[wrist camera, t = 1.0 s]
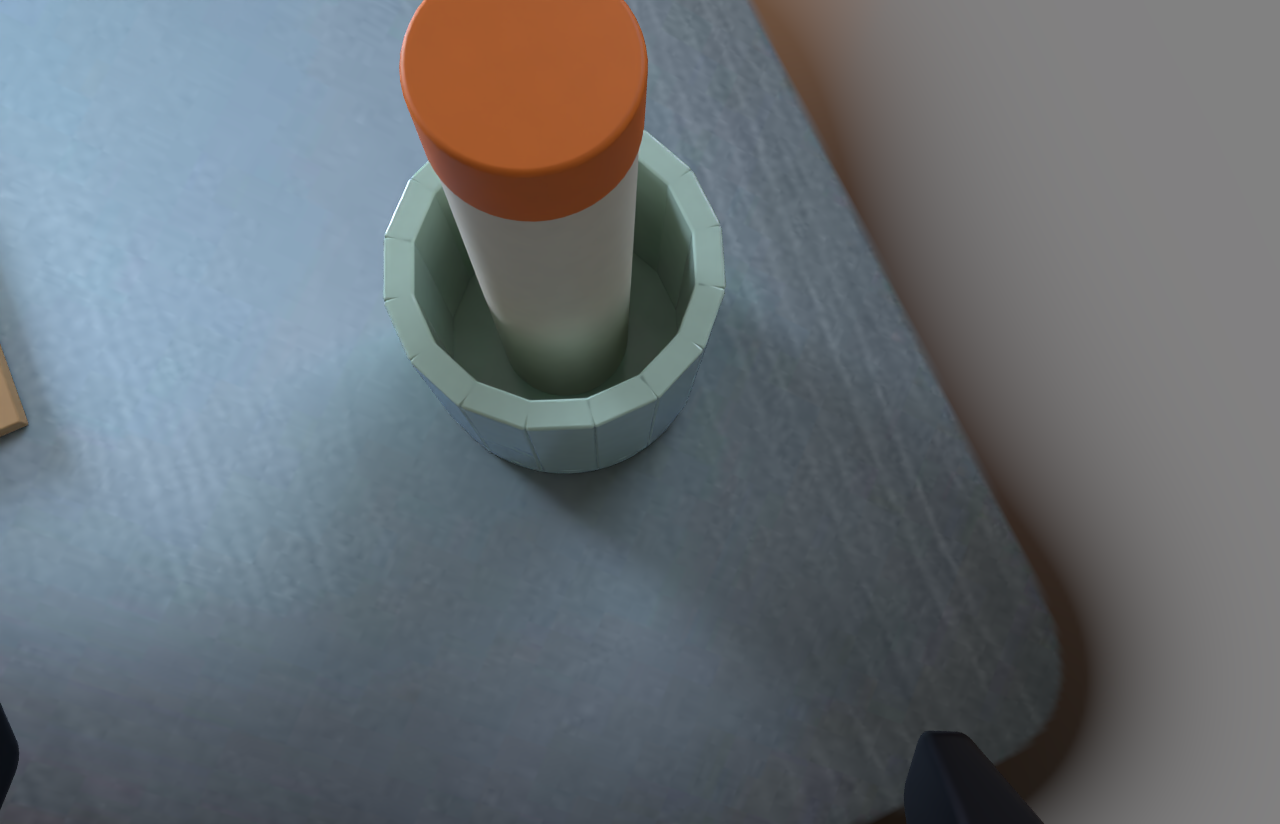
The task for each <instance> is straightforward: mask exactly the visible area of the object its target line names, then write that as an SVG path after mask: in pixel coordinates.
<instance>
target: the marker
mask: <svg viewBox="0 0 1280 824" xmlns="http://www.w3.org/2000/svg"><path fill="white" fill-rule="evenodd" d="M399 69H400V82H401V87H402V91H403V96H404V99H405V102H406V104H407V107H408V109H409V112H410V115H411V117H412V120H413V122H414V125H415V127H416V130H417V133H418V135H419V138H420V140H421V143H422V145H423V148H424V150H425V153H426V156H427V158H428V160H429V162H430V164H431V166H432V168H433V169H434V171H435V173H436V174H437V175H438V177H439V179H440V182H441V184H442V187H443V190H444V192H445V195H446V197H447V200H448V203H449V205H450V208H451V211H452V213H453V216H454V218H455V221H456V224H457V226H458V229H459V232H460V234H461V237H462V239H463V242H464V245H465V247H466V250H467V252H468V255H469V258H470V260H471V263H472V266H473V268H474V271H475V273H476V276H477V279H478V281H479V284H480V286H481V289H482V292H483V294H484V297H485V300H486V302H487V305H488V307H489V310H490V313H491V315H492V318H493V320H494V323H495V326H496V328H497V331H498V334H499V336H500V339H501V341H502V344H503V347H504V349H505V352H506V355H507V357H508V360H509V362H510V364H511V365H512V367H513V369H514V370H515V371H516V373H517V374H518V375H519V376H520V377H521V378H522V379H523V380H524V381H525V382H527V383H528V384H529V385H531V386H532V387H534V388H536V389H538V390H540V391H543V392H546V393H549V394H554V395H566V396H568V395H577V394H581V393H585V392H587V391H590V390H592V389H594V388H596V387H598V386H600V385H601V384H603V383H604V382H605V381H606V380H608V379H609V378H610V377H611V376H612V375H613V373H614V372H615V371H616V370H617V368H618V367H619V365H620V363H621V361H622V359H623V357H624V354H625V351H626V347H627V340H628V324H629V307H630V291H631V274H632V257H633V241H634V224H635V208H636V191H637V175H638V158H639V148H640V144H641V141H642V136H643V130H644V120H645V105H646V90H647V75H648V58H647V51H646V45H645V41H644V37H643V34H642V31H641V29H640V26H639V24H638V22H637V19H636V18H635V16H634V14H633V13H632V11H631V9H630V8H629V6H628V5H627V4H626V2H625V1H624V0H423V2H422V3H421V4H420V6H419V7H418V8H417V10H416V12H415V14H414V16H413V17H412V19H411V21H410V23H409V26H408V28H407V31H406V34H405V36H404V39H403V44H402V48H401V53H400V66H399Z"/></svg>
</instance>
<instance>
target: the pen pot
mask: <svg viewBox="0 0 1280 824" xmlns="http://www.w3.org/2000/svg"><path fill="white" fill-rule="evenodd" d="M725 287H726V280H725V266H724V252H723V238H722V229H721V227H720V222H719V220H718V218H717V216H716V214H715V212H714V211H713V209H712V207H711V205H710V203H709V201H708V199H707V197H706V195H705V193H704V191H703V189H702V187H701V185H700V184H699V182H698V180H697V178H696V176H695V174H694V173H693V172H692V171H691V169H690V167H688V166H687V165H686V164H685V163H684V162H682V161H681V160H680V159H679V158H678V157H677V156H675V155H674V154H673V153H672V152H671V151H669V150H668V149H667V148H666V147H665V146H664V145H662V144H661V143H660V142H659V141H658V140H656V139H655V138H654V137H653V136H652V135H651V134H649V133H648V132H647V131H646V130H643V136H642V141H641V144H640V148H639V158H638V175H637V191H636V208H635V224H634V241H633V257H632V274H631V291H630V307H629V324H628V340H627V347H626V351H625V354H624V357H623V359H622V361H621V363H620V365H619V367H618V368H617V370H616V371H615V372H614V373H613V375H612V376H611V377H610V378H609V379H608V380H606V381H605V382H604V383H603V384H601V385H600V386H598V387H596V388H594V389H592V390H590V391H587V392H585V393H581V394H577V395H568V396H566V395H554V394H549V393H546V392H543V391H540V390H538V389H536V388H534V387H532V386H531V385H529V384H528V383H527V382H525V381H524V380H523V379H522V378H521V377H520V376H519V375H518V374H517V373H516V371H515V370H514V369H513V367H512V365H511V364H510V362H509V360H508V357H507V355H506V352H505V349H504V347H503V344H502V341H501V339H500V336H499V334H498V331H497V328H496V326H495V323H494V320H493V318H492V315H491V313H490V310H489V307H488V305H487V302H486V300H485V297H484V294H483V292H482V289H481V286H480V284H479V281H478V279H477V276H476V273H475V271H474V268H473V266H472V263H471V260H470V258H469V255H468V252H467V250H466V247H465V245H464V242H463V239H462V237H461V234H460V232H459V229H458V226H457V224H456V221H455V218H454V216H453V213H452V211H451V208H450V205H449V203H448V200H447V197H446V195H445V192H444V190H443V187H442V184H441V182H440V179H439V177H438V175H437V174H436V173H435V171H434V169H433V168H432V166H431V164H430V162H429V161H428V162H427V163H426V164H425V165H424V166H423V167H422V168H420V169H419V170H418V171H417V172H416V173H415V174H414V175H413V176H412V178H411V180H409V181H408V183H407V186H406V188H405V190H404V192H403V195H402V197H401V199H400V201H399V204H398V206H397V208H396V210H395V213H394V215H393V217H392V219H391V222H390V224H389V226H388V228H387V231H386V233H385V239H384V249H383V299H384V301H385V307H386V310H387V312H388V314H389V317H390V319H391V321H392V323H393V326H394V328H395V330H396V332H397V335H398V337H399V339H400V342H401V344H402V346H403V348H404V351H405V353H406V355H407V358H408V359H409V361H410V362H411V364H412V365H413V367H414V368H415V369H416V371H417V372H418V373H419V375H420V376H421V377H422V379H423V380H424V381H425V382H426V384H427V385H428V386H429V388H430V389H431V390H432V392H433V393H434V394H435V396H436V397H437V398H438V400H439V401H440V402H441V404H442V405H443V406H444V408H445V409H446V410H447V411H448V413H449V414H450V415H451V417H452V418H453V419H454V420H455V421H456V422H458V423H459V424H460V425H461V426H462V427H463V428H464V429H465V430H466V431H467V432H468V433H469V434H470V435H471V436H472V437H473V438H474V439H475V440H476V441H477V442H479V443H480V444H481V445H482V446H484V447H485V448H486V449H487V450H488V451H490V452H492V453H493V454H496V455H497V456H499V457H501V458H502V459H505V460H507V461H509V462H512V463H514V464H516V465H518V466H522V467H525V468H529V469H532V470H536V471H543V472H549V473H580V472H589V471H593V470H598V469H602V468H606V467H609V466H611V465H614V464H616V463H619V462H622V461H624V460H626V459H628V458H629V457H631V456H633V455H635V454H637V453H639V452H640V451H642V450H643V449H644V448H646V447H647V446H648V445H650V444H651V443H653V442H654V441H655V440H656V439H657V438H658V437H659V436H660V435H661V434H662V433H663V432H664V431H665V430H666V429H667V428H668V427H669V425H670V424H671V423H672V422H673V421H674V419H675V418H676V417H677V415H678V414H679V412H680V411H681V410H682V409H683V408H684V406H685V404H686V403H687V400H688V397H689V394H690V392H691V389H692V386H693V383H694V380H695V378H696V375H697V372H698V369H699V366H700V364H701V361H702V358H703V355H704V352H705V349H706V346H707V343H708V341H709V338H710V335H711V332H712V329H713V326H714V323H715V320H716V317H717V314H718V311H719V309H720V306H721V303H722V300H723V297H724V294H725Z"/></svg>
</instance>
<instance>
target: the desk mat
mask: <svg viewBox="0 0 1280 824" xmlns="http://www.w3.org/2000/svg"><path fill="white" fill-rule="evenodd" d="M27 425H28V421H27V418H26V415H25V412H24V410H23V407H22V404H21V401H20V398H19V396H18V393H17V390H16V387H15V384H14V381H13V379H12V376H11V373H10V370H9V367H8V365H7V362H6V359H5V356H4V353H3V351H2V348H1V345H0V437H1V436H3V435H6V434H8V433H10V432H13V431H15V430H18V429H20V428H22V427H25V426H27Z"/></svg>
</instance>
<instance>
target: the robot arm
mask: <svg viewBox="0 0 1280 824" xmlns="http://www.w3.org/2000/svg"><path fill="white" fill-rule="evenodd" d="M18 761H19V747H18V743H17V740H16V738H15V736H14V733H13V731H12V729H11V726H10V724H9V722H8V719H7V717H6V715H5V712H4V710H3V708H2V705H1V703H0V809H1V807H2V804H3V802H4V799H5V797H6V795H7V792H8V790H9V787H10V785H11V782H12V780H13V777H14V775H15V772H16V769H17V765H18ZM904 806H905V815H906V822H907V824H1044V823H1043V822H1042V821H1041V820H1040V818H1039V817H1038V816H1037V815H1036V814H1035V813H1034V811H1033V810H1032V809H1031V808H1030V807H1029V806H1028V805H1027V803H1026V802H1025V801H1024V800H1023V799H1022V798H1021V796H1020V795H1019V794H1018V793H1017V792H1016V791H1015V790H1014V789H1013V787H1012V786H1011V785H1010V784H1009V783H1008V782H1007V780H1006V779H1005V778H1004V777H1003V776H1002V774H1001V773H1000V772H999V771H998V770H997V769H996V768H995V766H994V765H993V764H992V763H991V762H990V761H989V759H988V758H987V757H986V756H985V755H984V754H983V752H982V751H981V750H980V749H979V748H978V747H977V746H976V744H975V743H974V742H973V741H972V740H971V739H970V738H969V737H968V736H966V735H965V734H963V733H960V732H949V731H925V732H924V733H923V734H922V735H921V736H920V738H919V740H918V743H917V746H916V750H915V753H914V756H913V759H912V763H911V766H910V769H909V773H908V776H907V779H906V783H905V789H904Z"/></svg>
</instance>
